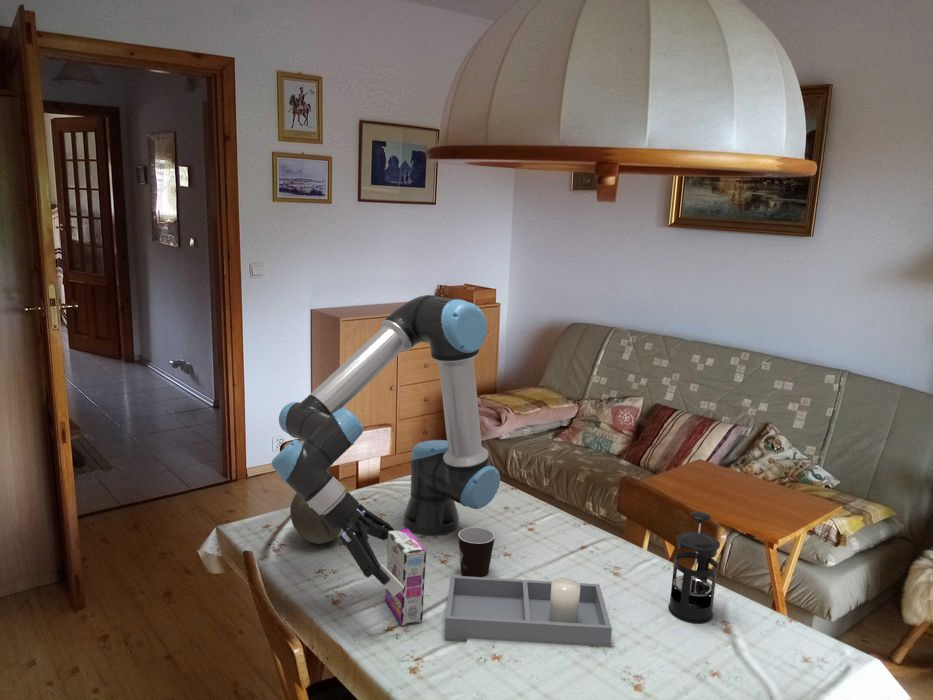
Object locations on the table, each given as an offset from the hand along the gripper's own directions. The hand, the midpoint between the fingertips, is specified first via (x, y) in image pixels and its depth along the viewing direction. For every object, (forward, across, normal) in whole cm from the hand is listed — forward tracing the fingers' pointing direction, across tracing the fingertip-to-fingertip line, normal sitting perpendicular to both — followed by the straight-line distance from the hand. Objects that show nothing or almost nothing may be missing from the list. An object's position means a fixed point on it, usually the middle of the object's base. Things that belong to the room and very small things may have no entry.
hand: (403, 574), depth 150 cm
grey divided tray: (+24, 0, +12) cm, 27 cm away
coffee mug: (+17, -20, +4) cm, 26 cm away
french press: (+51, -8, +38) cm, 64 cm away
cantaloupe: (-12, -30, -25) cm, 41 cm away
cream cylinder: (+30, 0, +19) cm, 35 cm away
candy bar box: (+6, 0, -6) cm, 9 cm away
